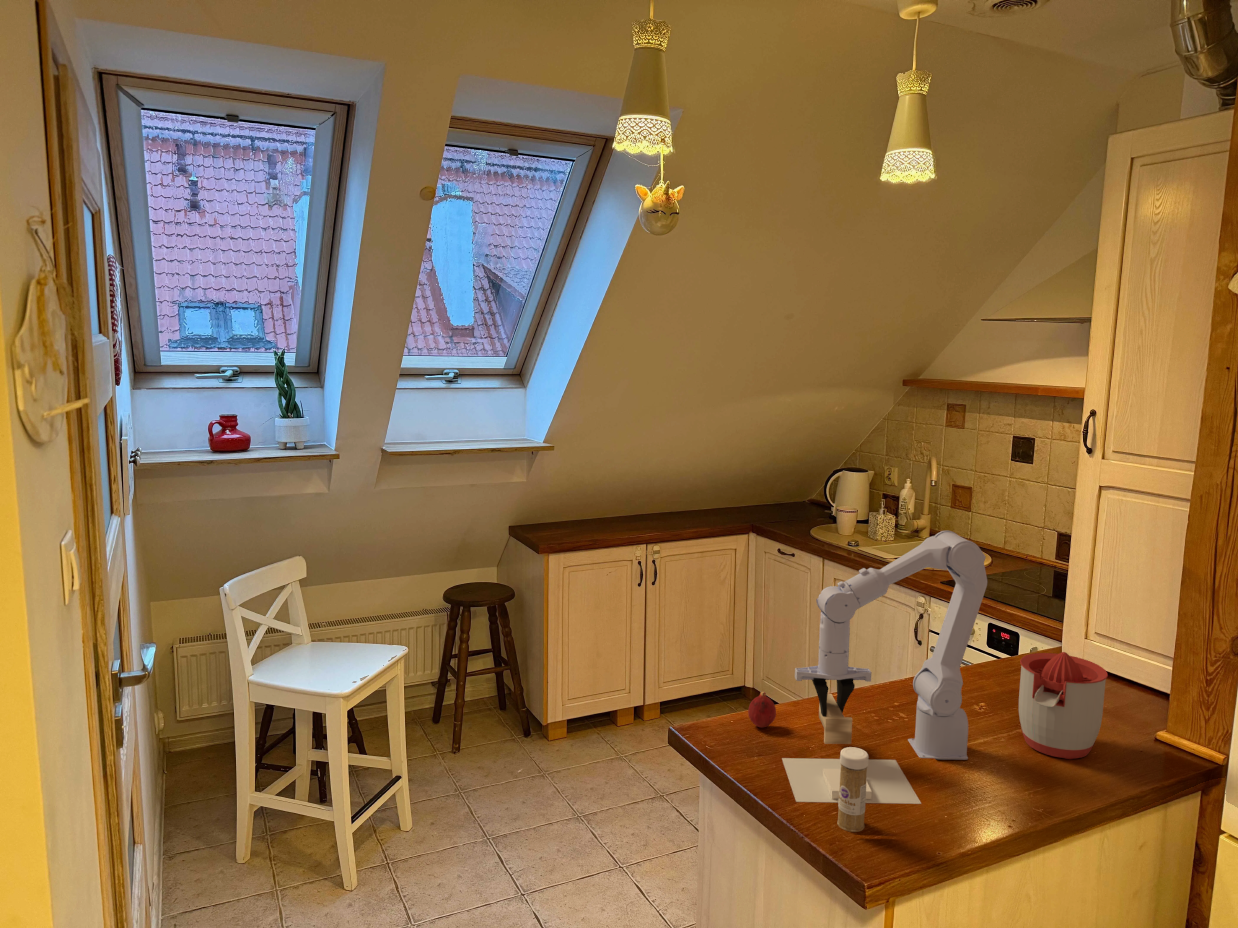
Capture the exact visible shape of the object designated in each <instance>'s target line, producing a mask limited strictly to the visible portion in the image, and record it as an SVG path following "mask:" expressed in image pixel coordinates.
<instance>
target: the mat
mask: <svg viewBox="0 0 1238 928" xmlns="http://www.w3.org/2000/svg"><path fill="white" fill-rule="evenodd" d="M781 760H782V764H783V767H784V769H785V772H786V775H787V778H788V782H789V784H790V787H791V792H792V794H793V796H794V799H795V802H796V803H837V804H838V801H839V799H832V798H831V795H830V793H829V791H828V788H827V786H826V783H825V781H824V778H823V769H841V763H840V758H803V757H802V758H793V757H792V758H790V757H782V758H781ZM866 781H867V783H868V785H869V787H870V789H871V791H872V798H871V799H866V801H865V804H900V805H901V804H904V805H905V804H906V805H907V804H911V805H912V804H913V805H922V802H921V800H920V799H919V797H918V795H917V794H916V792H915V791H914V789H913V787H912V785H911V783H910V782H909V780H908V779H907V777H906V775H905V774H904V772H903V770H902V769H901V767H900V765H899V763H898V762H897V760H896V759H869V758H868V767H867V774H866Z"/></svg>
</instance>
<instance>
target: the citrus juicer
mask: <svg viewBox="0 0 1238 928" xmlns="http://www.w3.org/2000/svg"><path fill="white" fill-rule="evenodd" d="M1019 662H1020V667H1021V668H1020V681H1019V693H1018V695H1019V696H1018V716H1019V717H1018V718H1019V722H1020V727H1021V732H1022V735H1023V737H1024V742H1026V744H1027V745H1028V746H1029V747H1030V748H1031V749H1034V750H1036V751H1037V752H1039V753H1042V754H1044V755H1047V756H1050V757H1055V758H1060V759H1061V758H1062V759H1065V760H1073V759H1079V758H1083V757H1086V756H1087V755H1088V754H1089V753H1090V751H1092V748H1093V747H1094V745H1095V741H1096V740H1097V737H1098V736H1099V733H1100V729H1101V725H1102V720H1103V712H1104V701H1105V693H1106V692H1105V691H1106V690H1105V689H1106V681H1107V680H1106V679H1107V678H1108V676H1109V675H1108V672H1107V671H1106V669H1105V668H1104V667H1103V666H1101V665H1099V664H1097V663H1095V662H1093V661H1090V660H1089V659H1088V660H1087V659H1085V658H1081V657H1077V656H1073V655H1069V653H1067V652H1065V651H1062V652H1060V653H1051V652H1049V653H1048V652H1036V653H1031V654H1025V655H1024V656H1022V657H1021V658H1020V661H1019Z"/></svg>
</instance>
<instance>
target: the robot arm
mask: <svg viewBox="0 0 1238 928" xmlns="http://www.w3.org/2000/svg"><path fill="white" fill-rule="evenodd" d="M986 558H987V557H986V555H985V553H984V552H983V551H982V550H981V548H980V547H979V545H978V544H976V543H975V542H973V541H972V540H968V539H966V538H965V537H963V536H960V535H958V534H957V533H956V532H954V531H953V530H952V531H951V530H941V531H940V532H938V533H936V534H935V535H932V536H929V537H927V538H925V540H924V541H922V543H920V544H919V545H917V546H916V547H914V548H912V549H911V550H909V551H908V552H906V553H904V554H902V555H901V556H899V557H898V558H897V559H895V560H892V562H890V563H888V564H887V565H884V566H883V567H882V568H880V569H877V568H873V567H869V568H867V569H866V568H865V567H862V568H861V569H859V570H858V573H857V574H856V575H854V576H852V577H851V578H848V579H846V580H845V581H843V580H842V581H839V582H837V586H836V585H831V586H827V587H825V588H823V589H822V590H821V591H820V593H819V595H818V597H817V598H816V606H817V608H818V609H819V611H820V616H819V617H820V620H819V639H818V664H817V665H814V666H807V667H806V666H805V667H795V668H794V679H795V681H797V682H802V680H803V681H805V680H808V681H809V680H810V681H811V682H812V684H813V686H814V689H815V691H816V695H817V698H818V703H819V702H820V708H821V714H822V716H823V717H826V715H827V695H828V694H829V689H830V688H829V686H828V683H827V681H836V700H835V701H836V703H837V705H838V706H839V708H840V710H841V712H842V714H843V712H844V709H845V706H846V705H847V701H848V699H849V697H850V696H851V694H852V693H853V691H854V690H855V683H854V681H865V682H867V683H868V682H872V671H871V669H870V668H864V667H863V668H862V667H855V666H849V662H850V661H849V657H850V634H851V633H850V631H851V626H850V625H851V623H850V622H851V620H852V618H853V617H854V615H855V614H856V611H857V610H859V609H860V608H863V607H864V606H867V605H868V604H870V603H872V602H874V601H875V600H877V599H879V598H881V597H883V596H885V595H886V594H887V592H888V590H889V587H890V585H892V584H895V583H896V582H899V581H901V580H903V579H905V578H906V577H909V576H912V575H913V574H915V573H917V572H920V571H922V570H924V569H926V568H930V569H934V570H935V569H936V570H943V571H948V572H949V574H950V575H951V577H952V579H953V581H954V582H955V585H954V588H953V591H952V594H951V598H950V599H949V600H950V601H949V604H948V607H947V610H946V613H945V616H944V619H943V622H942V624H941V628H940V630H939V635H938V638H937V640H936V644H935V647H934V649H933V653H932V656H931V657H929V658H927V659H926V660H924V662H923V664H922V667H921V669H920V670H919V671H918V672H917V673H916V674H915V675H914V677H913V681H912V686H913V690H914V693H916V694H917V702H916V711H915V712H916V714H915V732H914V738H908V739H907V741H908V742H909V744H910V746H911V747H912V749H913V750H914V752H915V754H916V755H917V756H918V757H919V758H920V759H934V760H956V761H957V760H960V761H961V760H963V761H965V760H966V761H968V759H969V757H968V755H967V754H968V753H967V752H968V742H969V741H968V739H969V720H968V716H967V712H965V709H963V708H961V705H962V703H963V697H962V695H963V694H962V688H963V685H964V682H963V676H962V673H961V665H962V661H963V659H964V656H965V653H966V650H967V648H968V644H969V640H970V638H971V634H972V631H973V629H974V626H975V623H976V620H977V617H978V615H979V612H980V611H979V610H980V607H981V604H982V602H983V599H984V595H985V592H986V590H987V587H988V577H987V571H986V565H985V561H986ZM843 715H844V714H843Z"/></svg>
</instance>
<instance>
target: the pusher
mask: <svg viewBox="0 0 1238 928" xmlns="http://www.w3.org/2000/svg"><path fill="white" fill-rule="evenodd" d="M836 701H837V700H836V699H835V698H834V696H833V694H832V693H828V695H827V715H826V717H823V716H822V714H821V708H820V702H819V701H818V703H819V704H818V705H819V707H818V718H819V721H820V722H821V724H822V726H823V730H824V731H823V733H824V734H823V743H824V745H826V744H827V745H828V744H831V745H835V744H836V745H852V735H853V718H852V717H851V716H844V714H842V712H841V710H840V708H839V706H838V705H837V703H836Z"/></svg>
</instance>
